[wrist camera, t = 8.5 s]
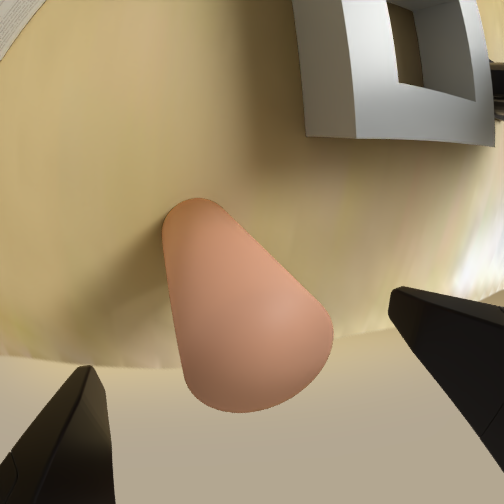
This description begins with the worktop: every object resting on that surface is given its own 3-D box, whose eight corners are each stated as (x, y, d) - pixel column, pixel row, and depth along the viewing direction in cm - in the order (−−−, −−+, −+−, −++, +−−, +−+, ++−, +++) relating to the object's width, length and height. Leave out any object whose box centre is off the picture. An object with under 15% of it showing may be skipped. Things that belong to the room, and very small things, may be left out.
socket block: (428, -7, 15) (470, -17, 11) (447, 139, 21) (494, 147, 16) (283, -54, 12) (319, -90, 7) (305, 136, 17) (356, 138, 13)
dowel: (227, 192, 17) (337, 272, 7) (234, 259, 18) (328, 387, 9) (155, 205, 16) (165, 312, 6) (168, 272, 17) (201, 426, 8)
